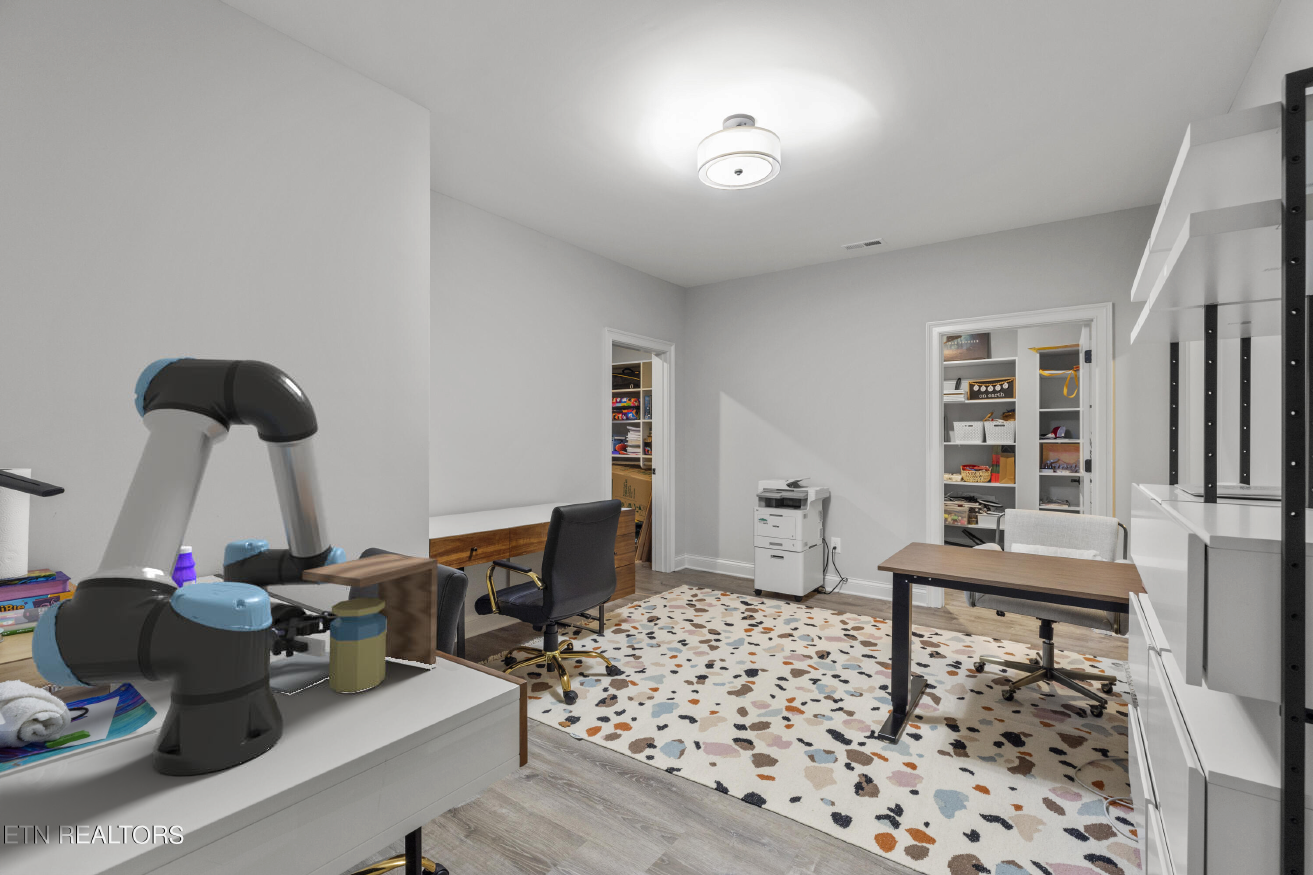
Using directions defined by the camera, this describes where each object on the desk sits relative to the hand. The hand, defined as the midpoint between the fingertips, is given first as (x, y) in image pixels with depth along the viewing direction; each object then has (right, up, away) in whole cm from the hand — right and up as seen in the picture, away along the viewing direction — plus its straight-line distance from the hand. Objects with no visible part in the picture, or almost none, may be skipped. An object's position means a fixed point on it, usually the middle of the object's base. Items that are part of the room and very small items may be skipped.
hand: (356, 636), depth 109 cm
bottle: (-64, -8, +38) cm, 75 cm away
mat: (-13, -8, +4) cm, 16 cm away
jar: (+1, -9, -2) cm, 9 cm away
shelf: (+2, -8, +2) cm, 9 cm away
